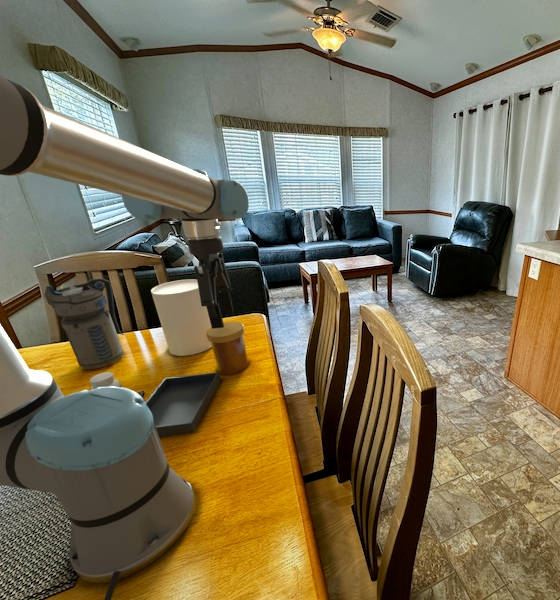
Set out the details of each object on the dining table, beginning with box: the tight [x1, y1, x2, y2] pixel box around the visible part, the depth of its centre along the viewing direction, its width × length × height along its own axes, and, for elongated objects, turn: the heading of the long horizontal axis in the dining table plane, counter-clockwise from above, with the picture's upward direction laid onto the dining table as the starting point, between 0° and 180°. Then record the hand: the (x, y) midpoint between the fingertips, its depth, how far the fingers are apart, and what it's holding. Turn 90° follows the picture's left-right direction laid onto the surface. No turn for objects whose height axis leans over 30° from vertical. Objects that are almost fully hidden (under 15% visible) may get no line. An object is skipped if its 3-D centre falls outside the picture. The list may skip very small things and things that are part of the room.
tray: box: [145, 371, 222, 438], centre depth 77 cm, size 19×13×2 cm
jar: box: [211, 334, 250, 375], centre depth 92 cm, size 8×8×12 cm
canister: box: [150, 278, 212, 357], centre depth 102 cm, size 14×14×20 cm
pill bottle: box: [89, 371, 123, 391], centre depth 74 cm, size 5×5×10 cm
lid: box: [206, 321, 245, 343], centre depth 90 cm, size 9×9×2 cm
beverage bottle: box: [43, 277, 125, 370], centre depth 92 cm, size 10×13×25 cm
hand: (223, 319), depth 89 cm, fingers open, 8 cm apart
